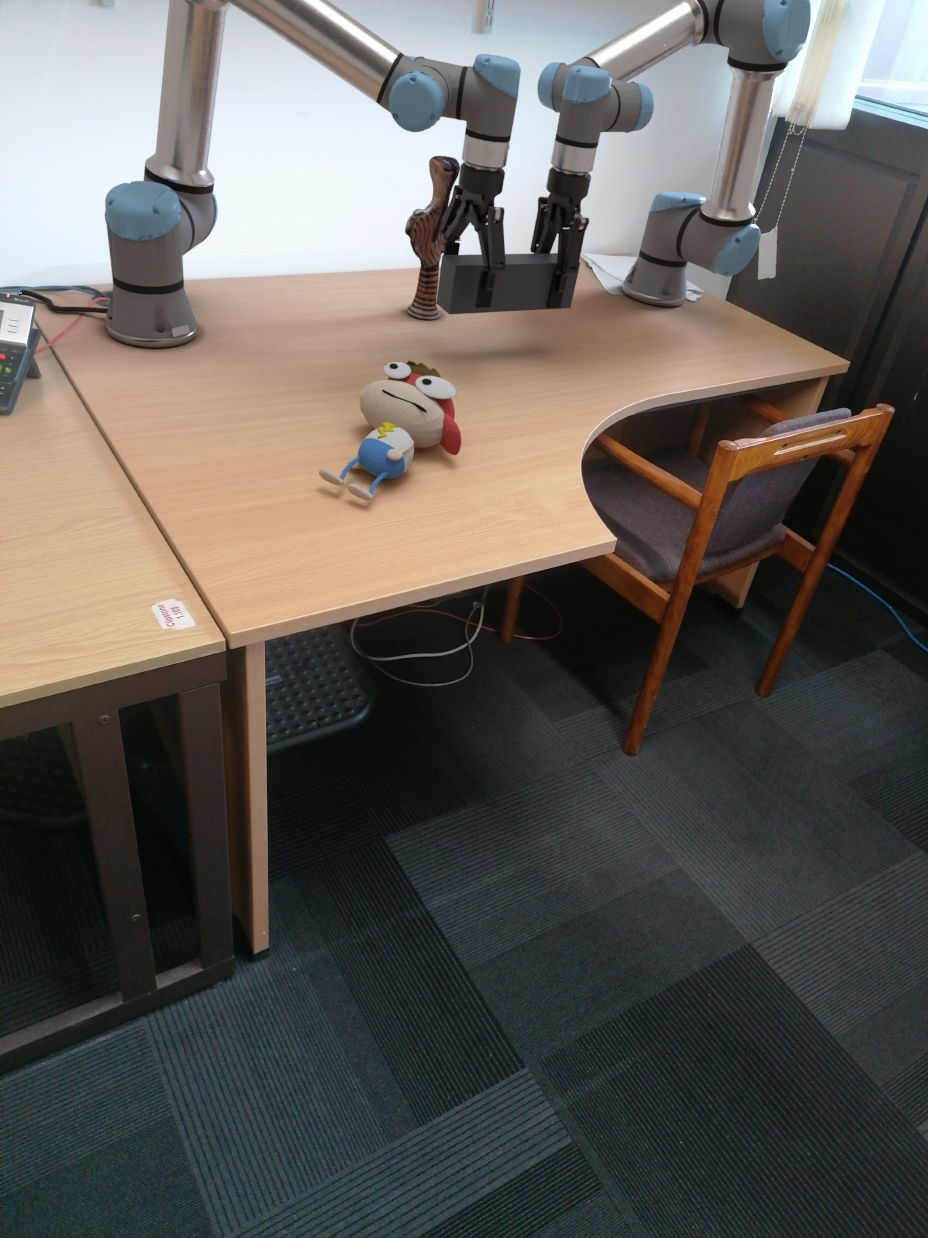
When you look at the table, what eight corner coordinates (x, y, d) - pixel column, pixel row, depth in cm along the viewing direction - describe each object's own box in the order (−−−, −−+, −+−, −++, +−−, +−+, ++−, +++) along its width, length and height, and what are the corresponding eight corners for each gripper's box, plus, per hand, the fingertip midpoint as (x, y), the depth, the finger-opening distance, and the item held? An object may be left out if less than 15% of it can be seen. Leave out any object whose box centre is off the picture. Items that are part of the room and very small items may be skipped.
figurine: (432, 300, 190) (450, 146, 171) (461, 312, 187) (483, 156, 168) (388, 314, 180) (402, 152, 161) (417, 327, 177) (436, 163, 158)
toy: (281, 425, 122) (398, 341, 141) (280, 482, 129) (391, 396, 148) (394, 483, 117) (499, 388, 137) (386, 539, 125) (486, 442, 144)
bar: (449, 314, 159) (455, 265, 154) (436, 303, 162) (442, 254, 157) (570, 308, 171) (580, 262, 165) (556, 297, 174) (565, 252, 169)
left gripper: (541, 187, 141) (516, 318, 154) (468, 146, 157) (451, 267, 171) (501, 186, 138) (479, 320, 151) (430, 144, 154) (416, 268, 167)
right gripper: (618, 185, 151) (587, 318, 166) (560, 156, 163) (536, 283, 178) (582, 184, 148) (554, 320, 163) (526, 154, 160) (504, 284, 174)
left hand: (464, 292), depth 161 cm, fingers open, 13 cm apart
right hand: (545, 300), depth 170 cm, fingers closed on bar, 5 cm apart
